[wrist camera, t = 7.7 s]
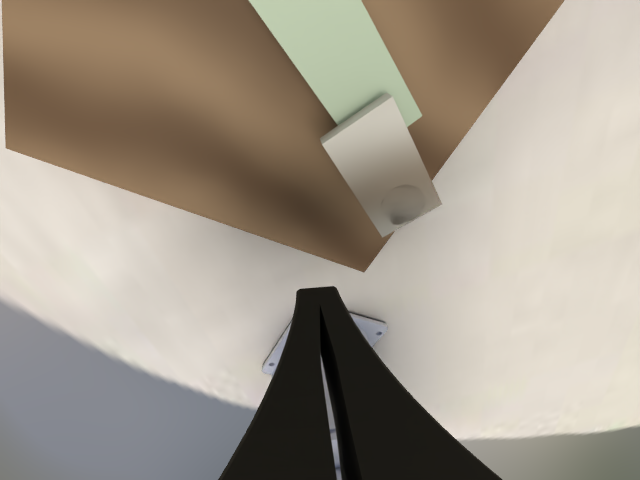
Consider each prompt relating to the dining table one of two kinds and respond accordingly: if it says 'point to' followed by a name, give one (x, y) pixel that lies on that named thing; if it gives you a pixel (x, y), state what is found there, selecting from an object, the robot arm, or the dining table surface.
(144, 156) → the board
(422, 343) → the dining table surface
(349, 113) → the link
